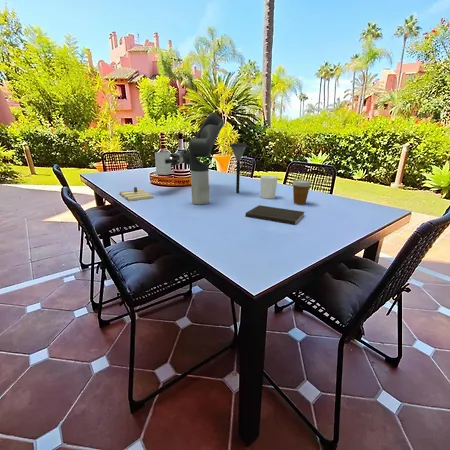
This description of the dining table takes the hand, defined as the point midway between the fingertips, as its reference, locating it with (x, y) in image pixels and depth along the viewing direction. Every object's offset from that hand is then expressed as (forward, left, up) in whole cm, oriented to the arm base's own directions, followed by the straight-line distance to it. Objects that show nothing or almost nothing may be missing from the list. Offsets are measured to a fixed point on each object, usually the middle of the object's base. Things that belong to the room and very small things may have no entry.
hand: (161, 161), depth 158 cm
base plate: (+5, +15, -20) cm, 25 cm away
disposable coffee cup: (-58, -55, -20) cm, 83 cm away
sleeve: (+1, -2, -7) cm, 7 cm away
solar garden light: (-20, -41, -20) cm, 50 cm away
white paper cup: (-38, -50, -20) cm, 66 cm away
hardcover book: (-68, -27, -20) cm, 77 cm away
